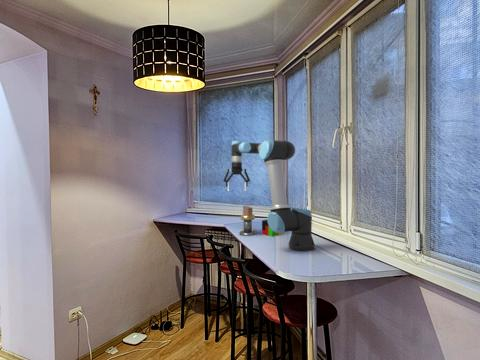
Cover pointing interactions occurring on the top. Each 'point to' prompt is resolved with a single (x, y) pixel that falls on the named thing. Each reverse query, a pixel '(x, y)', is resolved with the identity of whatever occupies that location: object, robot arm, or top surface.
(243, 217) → the coupling
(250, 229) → the post
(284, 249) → the top surface
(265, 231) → the puzzle toy
